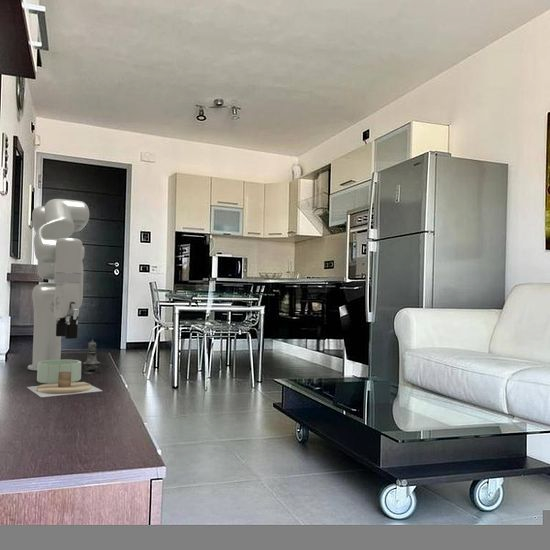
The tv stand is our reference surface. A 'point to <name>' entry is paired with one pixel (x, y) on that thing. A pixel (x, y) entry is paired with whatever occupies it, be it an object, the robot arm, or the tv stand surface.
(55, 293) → the robot arm
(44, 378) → the bowl
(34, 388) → the mat
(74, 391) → the lid
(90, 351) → the salt shaker
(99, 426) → the tv stand surface
